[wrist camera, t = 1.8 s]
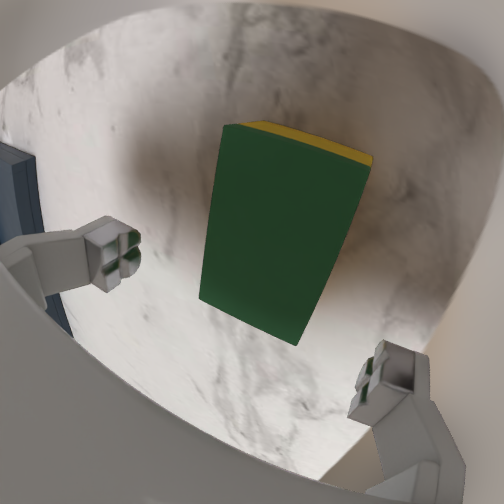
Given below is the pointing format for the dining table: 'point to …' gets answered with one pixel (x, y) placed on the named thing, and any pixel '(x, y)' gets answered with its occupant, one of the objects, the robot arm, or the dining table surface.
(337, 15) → the dining table surface
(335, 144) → the sponge
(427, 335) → the dining table surface
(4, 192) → the tray
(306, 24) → the dining table surface
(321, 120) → the dining table surface
